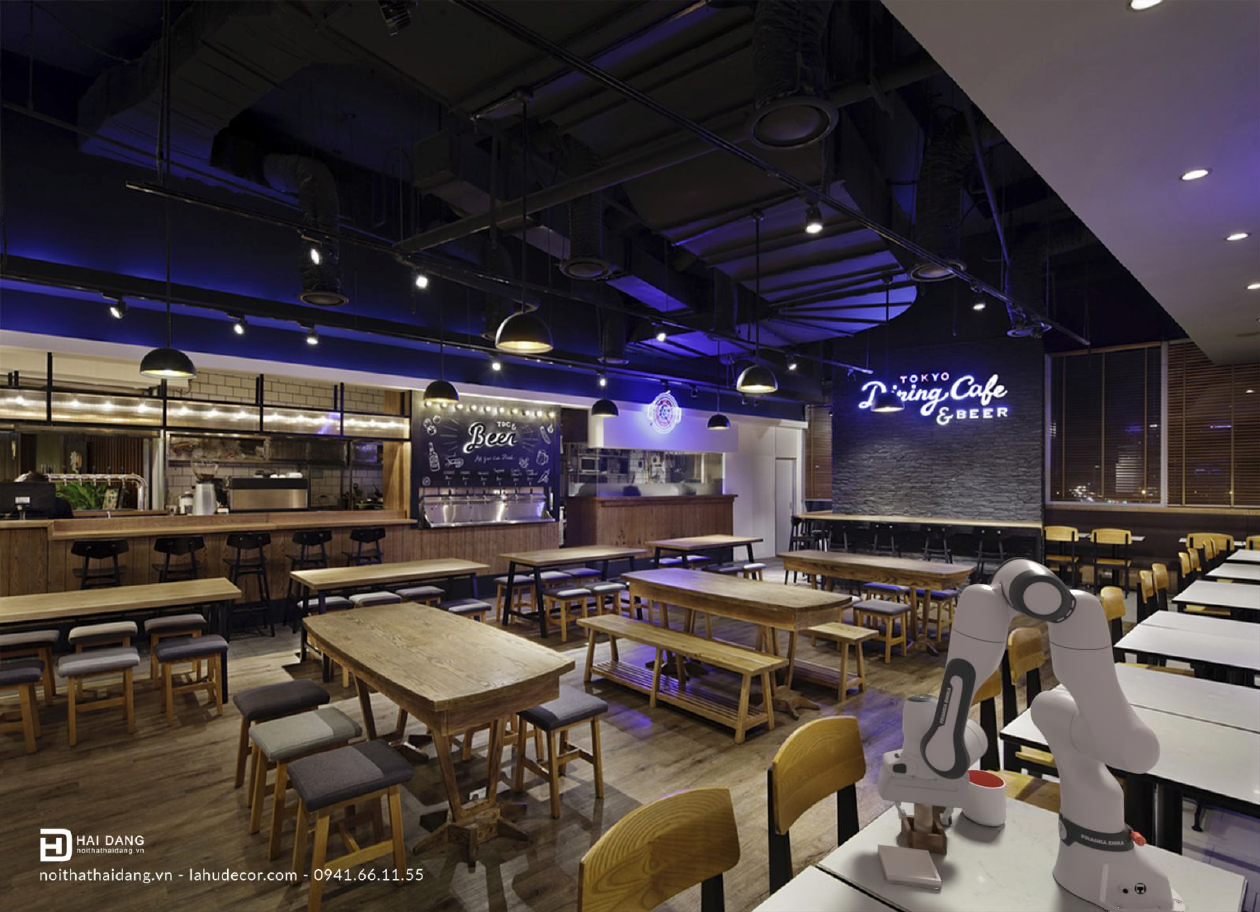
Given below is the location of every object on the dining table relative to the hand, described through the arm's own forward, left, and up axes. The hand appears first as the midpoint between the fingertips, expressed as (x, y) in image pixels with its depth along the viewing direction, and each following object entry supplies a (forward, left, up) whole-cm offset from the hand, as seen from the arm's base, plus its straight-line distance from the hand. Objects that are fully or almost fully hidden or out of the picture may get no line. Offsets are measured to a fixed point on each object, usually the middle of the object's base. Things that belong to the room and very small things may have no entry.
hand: (923, 820), depth 150 cm
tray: (+6, +12, -5) cm, 14 cm away
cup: (-18, -15, -6) cm, 24 cm away
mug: (-7, -10, -5) cm, 14 cm away
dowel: (0, 0, -5) cm, 5 cm away
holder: (0, 0, -5) cm, 5 cm away
